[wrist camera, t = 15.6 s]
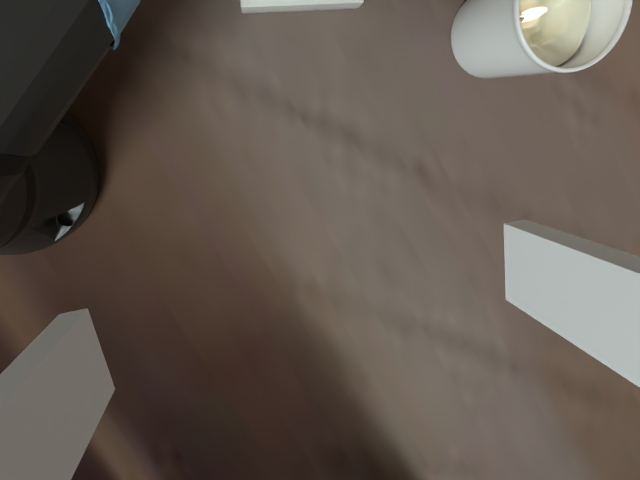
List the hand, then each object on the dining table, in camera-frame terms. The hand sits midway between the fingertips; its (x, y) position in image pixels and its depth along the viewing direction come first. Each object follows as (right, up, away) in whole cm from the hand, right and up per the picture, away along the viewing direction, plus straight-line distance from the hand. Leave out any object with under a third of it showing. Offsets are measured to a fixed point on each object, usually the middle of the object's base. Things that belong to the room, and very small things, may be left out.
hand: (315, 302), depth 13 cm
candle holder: (+17, +23, +30) cm, 41 cm away
